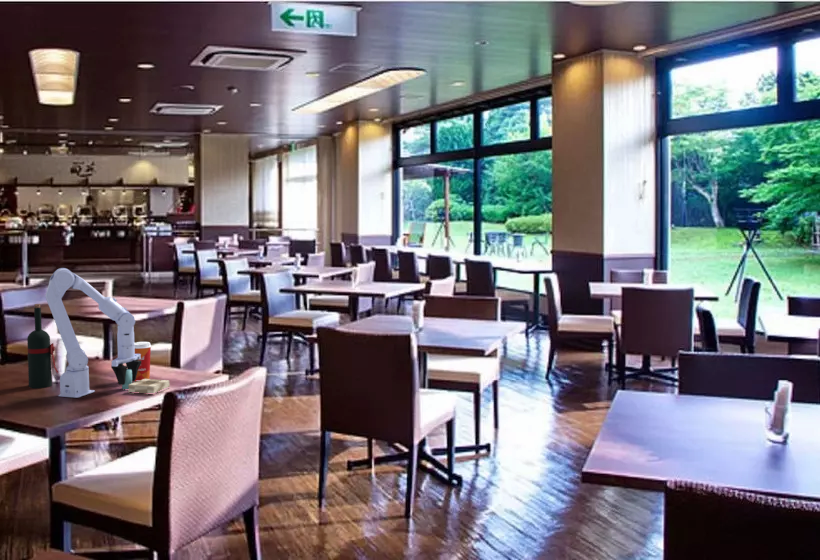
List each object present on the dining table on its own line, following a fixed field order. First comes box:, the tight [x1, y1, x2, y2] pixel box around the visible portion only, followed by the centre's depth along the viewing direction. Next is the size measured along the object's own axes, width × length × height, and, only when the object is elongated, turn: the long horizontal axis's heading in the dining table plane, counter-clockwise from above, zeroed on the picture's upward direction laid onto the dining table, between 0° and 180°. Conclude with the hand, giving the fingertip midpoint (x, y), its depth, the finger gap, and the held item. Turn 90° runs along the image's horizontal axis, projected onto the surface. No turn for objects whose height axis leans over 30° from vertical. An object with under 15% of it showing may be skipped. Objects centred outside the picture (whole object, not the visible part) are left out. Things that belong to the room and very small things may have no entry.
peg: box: [121, 369, 133, 389], centre depth 282 cm, size 4×4×7 cm
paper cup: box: [134, 341, 152, 380], centre depth 297 cm, size 8×8×14 cm
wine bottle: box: [26, 303, 60, 389], centre depth 286 cm, size 8×10×30 cm
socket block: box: [128, 378, 171, 393], centre depth 280 cm, size 10×10×3 cm
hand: (127, 382), depth 282 cm, fingers open, 6 cm apart
